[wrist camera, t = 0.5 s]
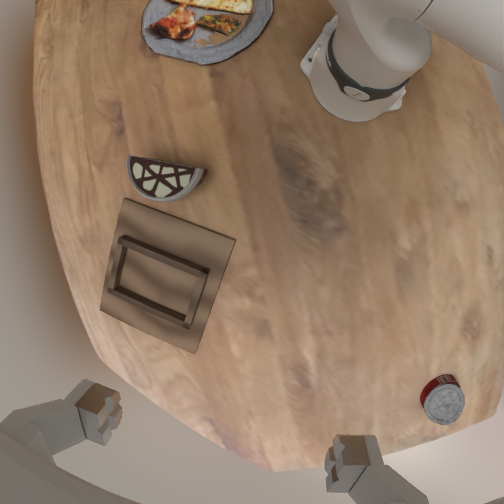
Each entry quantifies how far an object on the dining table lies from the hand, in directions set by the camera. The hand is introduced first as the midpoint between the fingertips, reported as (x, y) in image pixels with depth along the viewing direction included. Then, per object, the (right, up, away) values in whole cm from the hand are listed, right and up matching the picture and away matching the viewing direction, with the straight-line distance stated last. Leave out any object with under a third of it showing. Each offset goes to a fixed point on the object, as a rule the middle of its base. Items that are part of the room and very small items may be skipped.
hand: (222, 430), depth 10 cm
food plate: (-8, +52, +35) cm, 63 cm away
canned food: (+44, -26, +46) cm, 69 cm away
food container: (-12, +19, +42) cm, 47 cm away
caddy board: (-16, +2, +46) cm, 49 cm away
